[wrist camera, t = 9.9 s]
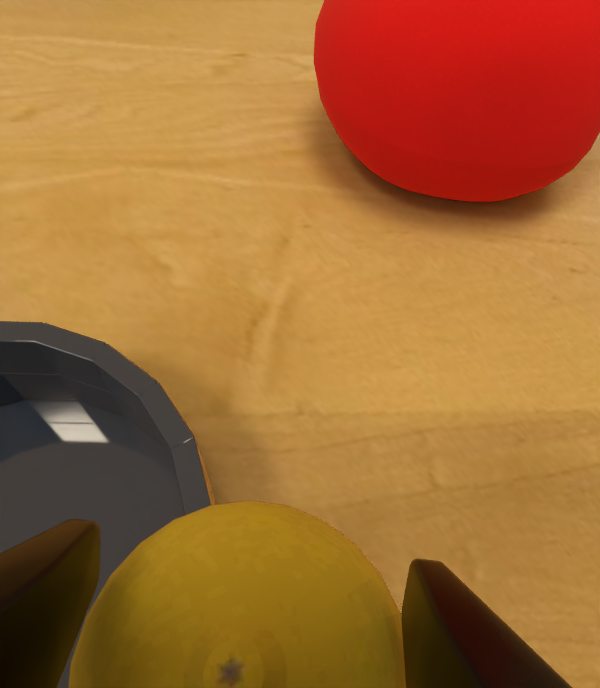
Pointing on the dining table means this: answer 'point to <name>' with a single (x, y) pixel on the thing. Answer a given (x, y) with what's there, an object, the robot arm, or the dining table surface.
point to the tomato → (462, 90)
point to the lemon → (243, 608)
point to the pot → (89, 446)
